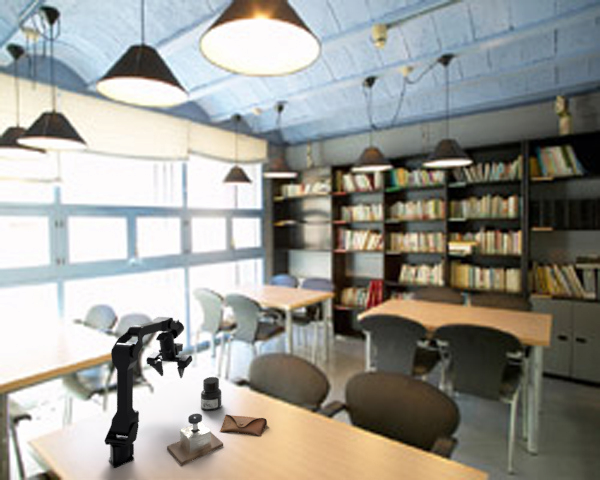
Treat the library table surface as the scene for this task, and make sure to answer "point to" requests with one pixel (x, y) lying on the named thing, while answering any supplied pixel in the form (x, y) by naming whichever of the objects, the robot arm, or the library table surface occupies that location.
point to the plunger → (195, 421)
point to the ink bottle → (211, 394)
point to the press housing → (195, 438)
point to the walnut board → (185, 457)
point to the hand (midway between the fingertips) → (171, 376)
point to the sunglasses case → (243, 425)
